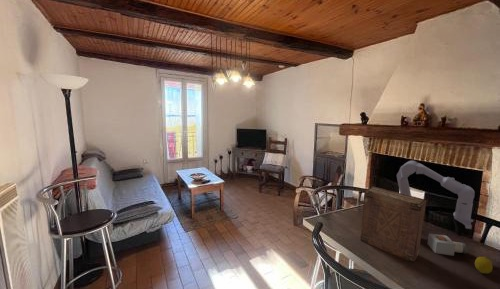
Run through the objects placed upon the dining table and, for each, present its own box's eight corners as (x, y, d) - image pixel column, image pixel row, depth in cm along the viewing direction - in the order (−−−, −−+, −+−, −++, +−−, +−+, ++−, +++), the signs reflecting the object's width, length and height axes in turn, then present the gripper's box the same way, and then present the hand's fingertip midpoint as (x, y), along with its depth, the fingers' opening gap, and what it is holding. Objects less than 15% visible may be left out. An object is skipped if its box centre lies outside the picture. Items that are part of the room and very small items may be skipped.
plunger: (439, 241, 115) (440, 238, 114) (436, 237, 117) (436, 235, 117) (446, 242, 114) (447, 239, 114) (443, 238, 117) (443, 236, 116)
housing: (435, 253, 114) (436, 241, 113) (427, 243, 121) (428, 233, 120) (453, 255, 112) (455, 244, 111) (444, 246, 119) (446, 235, 118)
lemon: (469, 269, 102) (472, 253, 101) (480, 268, 103) (483, 252, 102) (483, 278, 97) (486, 261, 96) (494, 277, 97) (498, 261, 96)
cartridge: (436, 251, 115) (437, 242, 114) (431, 245, 120) (432, 237, 119) (466, 255, 111) (468, 246, 111) (460, 249, 116) (461, 240, 115)
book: (359, 240, 125) (364, 189, 120) (366, 234, 131) (371, 185, 126) (413, 263, 106) (421, 204, 101) (418, 255, 112) (426, 199, 107)
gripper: (481, 218, 103) (477, 244, 105) (467, 205, 116) (463, 229, 118) (462, 215, 106) (458, 241, 108) (449, 203, 119) (446, 227, 121)
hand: (459, 235), depth 113 cm, fingers closed
